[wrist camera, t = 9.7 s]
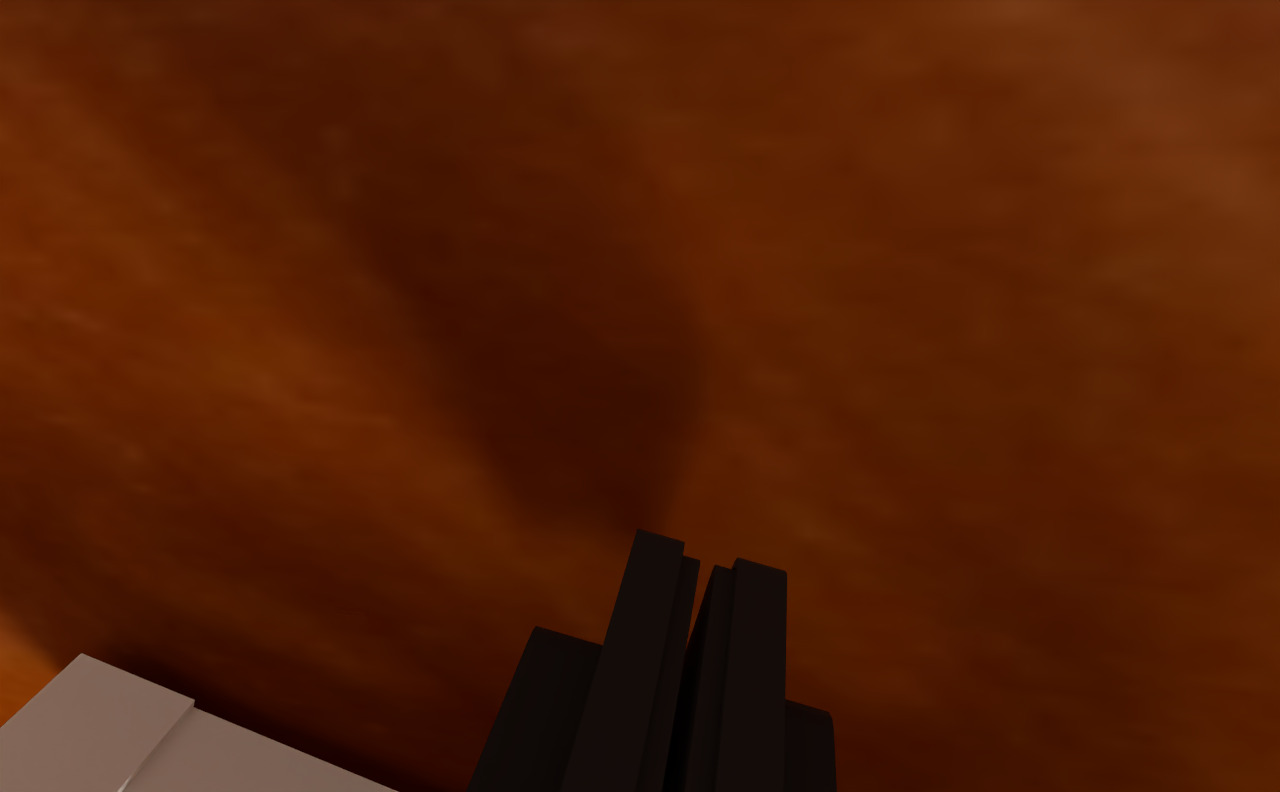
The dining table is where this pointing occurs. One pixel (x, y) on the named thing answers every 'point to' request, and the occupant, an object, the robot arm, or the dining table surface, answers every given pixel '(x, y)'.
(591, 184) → the dining table surface
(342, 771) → the gate
